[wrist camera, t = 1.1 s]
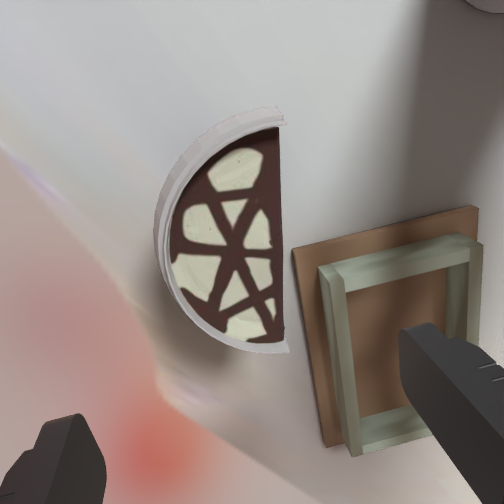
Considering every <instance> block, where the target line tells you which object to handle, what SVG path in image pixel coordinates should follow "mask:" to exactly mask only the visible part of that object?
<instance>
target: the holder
mask: <svg viewBox="0 0 504 504" xmlns="http://www.w3.org/2000/svg"><path fill="white" fill-rule="evenodd" d="M478 210H479V208H477V207H474V206H472V205H471V206H466V207H462V208H458V209H454V210H450V211H446V212H442V213H438V214H433V215H429V216H425V217H421V218H417V219H413V220H409V221H405V222H401V223H396V224H392V225H388V226H384V227H380V228H376V229H372V230H368V231H363V232H359V233H355V234H351V235H347V236H343V237H339V238H335V239H331V240H326V241H322V242H318V243H314V244H310V245H306V246H302V247H298V248H293V249H292V251H293V257H294V263H295V270H296V276H297V282H298V288H299V294H300V300H301V306H302V312H303V318H304V324H305V330H306V336H307V342H308V348H309V354H310V360H311V366H312V372H313V378H314V384H315V390H316V397H317V403H318V409H319V415H320V421H321V427H322V433H323V439H324V443H325V445H326V448H328V447H332V446H336V445H339V444H343V443H346V445H347V447H348V450H349V452H350V454H351V456H352V457H356V456H359V455H363V454H366V453H370V452H373V451H377V450H381V449H384V448H388V447H391V446H395V445H398V444H402V443H406V442H409V441H413V440H416V439H420V438H423V437H427V436H431V435H433V434H432V432H431V431H430V430H429V428H428V427H427V425H426V424H425V423H424V421H423V420H422V418H421V417H420V416H419V414H418V413H417V411H416V410H415V409H414V407H413V406H412V404H411V403H410V401H409V400H408V398H407V396H406V394H405V392H404V390H403V387H402V384H401V379H400V367H399V347H398V333H399V330H401V329H404V328H408V327H412V326H415V325H419V324H423V323H427V322H430V323H432V324H434V325H435V326H436V327H437V328H438V329H439V330H440V331H441V332H442V333H443V334H444V335H445V336H446V337H447V338H448V339H450V338H453V337H459V338H461V339H463V340H465V341H468V342H470V343H472V344H474V345H476V346H478V341H479V322H480V303H481V283H482V264H483V245H482V244H481V243H479V242H477V233H478Z"/></svg>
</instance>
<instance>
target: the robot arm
mask: <svg viewBox="0 0 504 504" xmlns="http://www.w3.org/2000/svg"><path fill="white" fill-rule="evenodd" d="M465 1H467V2H468V3H470V4H471V5H473V6H474V7H476V8H477V9H480V10H483V11H486V12H489V13H504V0H465ZM398 347H399V367H400V379H401V384H402V387H403V390H404V392H405V394H406V396H407V398H408V400H409V401H410V403H411V404H412V406H413V407H414V409H415V410H416V411H417V413H418V414H419V416H420V417H421V418H422V420H423V421H424V423H425V424H426V425H427V427H428V428H429V430H430V431H431V432H432V434H433V435H434V437H435V438H436V439H437V441H438V442H439V444H440V445H441V446H442V448H443V449H444V451H445V452H446V453H447V455H448V456H449V458H450V459H451V460H452V462H453V463H454V465H455V466H456V467H457V469H458V470H459V472H460V473H461V474H462V476H463V477H464V478H465V480H466V481H467V483H468V484H469V485H470V487H471V488H472V490H473V491H474V492H475V494H476V495H477V497H478V498H479V499H480V501H481V502H482V504H504V369H503V368H502V367H501V366H500V365H497V364H496V362H495V361H494V360H493V359H492V358H491V357H490V356H489V355H488V354H486V353H485V352H484V351H483V350H482V349H481V348H480V347H478V346H476V345H474V344H472V343H470V342H468V341H465V340H463V339H461V338H459V337H453V338H450V339H448V338H447V337H446V336H445V335H444V334H443V333H442V332H441V331H440V330H439V329H438V328H437V327H436V326H435V325H434V324H432V323H430V322H427V323H423V324H419V325H415V326H412V327H408V328H404V329H401V330H399V333H398ZM106 477H107V475H106V465H105V461H104V457H103V455H102V453H101V451H100V449H99V447H98V445H97V443H96V440H95V438H94V436H93V434H92V432H91V430H90V428H89V426H88V424H87V422H86V420H85V418H84V417H83V416H82V415H81V414H79V413H78V414H74V415H70V416H66V417H63V418H59V419H55V420H51V421H48V422H46V423H45V424H44V425H43V426H42V428H41V431H40V433H39V436H38V438H37V440H36V443H35V445H34V448H33V449H31V450H27V451H25V452H23V454H22V455H21V456H20V457H19V459H18V460H17V461H16V462H15V463H14V465H13V466H12V467H11V468H10V470H9V471H8V472H7V473H6V475H5V477H4V480H3V482H2V485H1V486H0V504H102V503H103V497H104V492H105V487H106Z"/></svg>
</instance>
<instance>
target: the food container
mask: <svg viewBox="0 0 504 504" xmlns="http://www.w3.org/2000/svg"><path fill="white" fill-rule="evenodd" d="M282 125H287V122H285V121H284V120H283V114H282V112H281V111H280V110H279V109H278V107H277V106H270V107H264V108H257V109H253V110H250V111H247V112H244V113H241V114H238V115H235V116H233V117H231V118H229V119H227V120H225V121H223V122H221V123H219V124H218V125H216V126H214V127H213V128H211V129H210V130H209V131H207V132H206V133H205V134H203V135H202V136H201V137H199V138H198V139H197V140H196V141H195V142H194V143H193V144H192V145H191V146H190V147H189V148H188V149H187V150H186V151H185V152H184V153H183V154H182V155H181V157H180V158H179V160H178V161H177V163H176V164H175V165H174V167H173V168H172V170H171V171H170V173H169V175H168V177H167V179H166V181H165V183H164V185H163V188H162V190H161V192H160V196H159V199H158V203H157V206H156V210H155V218H154V228H153V234H154V247H155V253H156V257H157V261H158V265H159V268H160V270H161V273H162V275H163V278H164V280H165V282H166V284H167V287H168V289H169V291H170V294H171V295H172V297H173V298H174V300H175V301H176V303H177V304H178V306H179V307H180V309H181V310H182V311H183V312H184V313H185V314H186V315H187V316H188V317H189V319H190V320H191V321H192V322H194V323H195V324H196V325H197V326H198V327H200V328H201V329H202V330H204V331H205V332H206V333H208V334H209V335H210V336H212V337H214V338H215V339H217V340H219V341H221V342H223V343H225V344H227V345H230V346H233V347H235V348H238V349H241V350H245V351H250V352H255V353H266V354H282V353H291V352H290V349H289V346H288V343H287V340H286V337H285V334H284V329H285V327H284V321H283V236H282V216H281V184H280V145H279V127H276V126H282Z"/></svg>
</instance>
